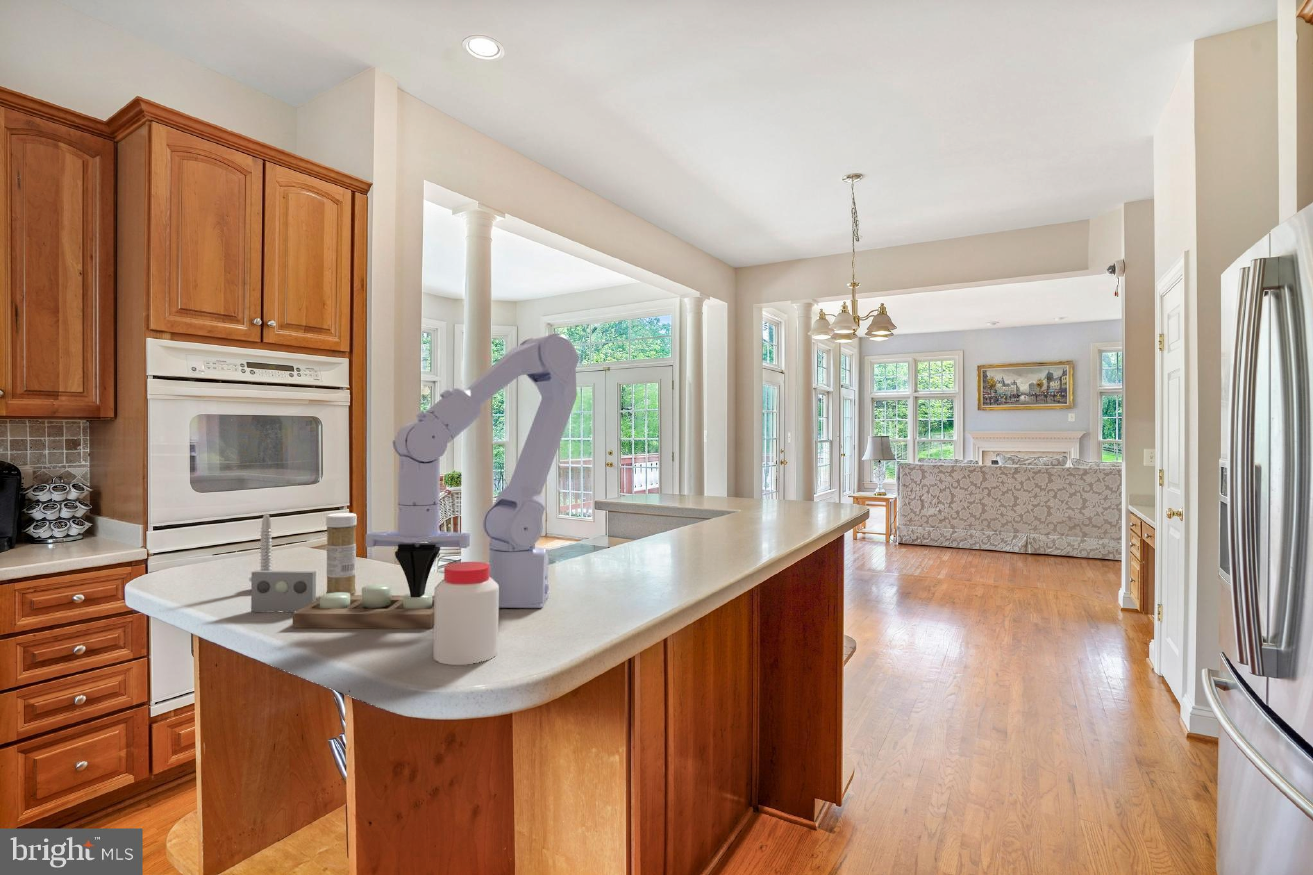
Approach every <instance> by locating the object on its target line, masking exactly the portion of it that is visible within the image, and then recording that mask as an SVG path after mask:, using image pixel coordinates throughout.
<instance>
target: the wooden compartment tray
mask: <svg viewBox="0 0 1313 875" xmlns="http://www.w3.org/2000/svg"><path fill="white" fill-rule="evenodd" d="M404 595H405V594H404ZM404 595H395V594H393V595H392V594H391V604H390V605H388V606H384V607H378V608H366V607H362V594H353V595H350V606H348V607H347V608H345V609H320V598H319V599H317V600H316V601H315V602H313V603H311V604H309V605H307V606H306V607H304V608H302V609H300V610H298V611H296V612H292V629H427V630H428V629H429V630H430V629H432V628H434V595H432V608H430V609H403V596H404Z"/></svg>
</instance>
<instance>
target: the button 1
mask: <svg viewBox="0 0 1313 875" xmlns="http://www.w3.org/2000/svg"><path fill="white" fill-rule="evenodd" d="M319 599H320V609H345V608H347V607H348V606H350V594H349V593H345V592H336V593H328V594H326V593H325V594H322V595H320V597H319Z"/></svg>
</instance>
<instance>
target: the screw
mask: <svg viewBox="0 0 1313 875" xmlns="http://www.w3.org/2000/svg"><path fill="white" fill-rule="evenodd" d="M270 517H271V516H270V514H268V513H265V514H264V515H263V516H262V520H261V527H260V529H261V530H260V535H259V537H260V541H259V544H260V546H259V547H260V549H259V551H260V552H259V554H260V555H259V557H260V559H259V560H260V562H259V564H260V566H259V568H260V569H259V571H273V570H272V569H273V566H272V565H273V563H272V561H273V560H272V558H273V556H272V555H273V553H272V551H273V549H272V548H273V546H272V545H273V542H272V541H273V538H272V537H273V535H272V534H273V532H272V530H273V529H272V527H271V526H272V525H271V523H272V522H271V518H270ZM251 580H252V575H251V577H249V578H248V581H249V582H250V583H251Z"/></svg>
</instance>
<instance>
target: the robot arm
mask: <svg viewBox="0 0 1313 875" xmlns="http://www.w3.org/2000/svg"><path fill="white" fill-rule="evenodd" d="M579 360H580V356H579V354H578V352H577V350H576V348H575V345H574V344H573V342H572V341H571V339H570V338H569V337H568V336H567V335H565V334H562V333H559V332H554V333H550V334H548V335H546V336H541V337H536V338H532V337H531V338H527V339H525V340H523V341H521V342H520V344H519V345H517V346H516V345H515V347H513V348H511V349H509V351H507V353H505V354H504V355H503V356H502V357H501V358H500V359H499V360H497V362H495V363H494V364H493V365H492V366H491V367H490V368H488V370H486V371H485V372H484V373H483V374H481V375H480V376H479V377H478V378H477V379H476V380H475V381H474V382H473V383H472V384H471V385H470V386H468V387H467V388H466V389H465V388H459V387H455V388H453V389H452V390H450V389H445V390H444V391H443V392H441V393H440V394H439V396H440V397H441V399H439V400H438V401H437V402H436V403H435V404H433V405H431V406H430V407H429V408H428V409H427V410H425V411H419V412H418V413H416V415H415V417H416V420H417V421H416V422H415V421H413V422H408V423H406V424H404V425H402V426H401V427H400V428H399V429H398V431H397V432H396V436H395V438H394V440H392V447H393V450H394V452H395V453H396V455H397V456H398V458H399V459H398V472H397V473H398V474H397V479H398V482H397V483H398V484H397V530H395V531H393V530H392V531H371V532H368V533H366V534H365V547H366V548H374V547H397V548H396V551H395V552H394V556H395V558H396V560H397V562H398V563H399V566H400V567H401V569H402V571H403V574H404V576H405V578H406V582H407V585H408V589H409V593H410V596H411V597H421V596H423V595H424V593H425V592H426V587H427V583H428V579H429V576H430V572H431V570H432V568H433V565H434V563H435V561H436V559H437V557H438V555H439V553H440V551H441V548H459V549H467V548H469V547H470V544H471V543H470V541H471V540H470V539H471V537H470V536H471V534H470V533H469V532H455V531H453V532H452V531H441V530H440V484H441V483H440V482H441V480H440V473H441V472H440V462H441V460H440V459H441V457H443V456H444V454H445V453H446V451H447V448H448V443H449V444H450V442H453V440H454V439H455V438H457V436H459V435H460V434H461V433H462V432H464V431H466V429H468V427H469V426H471V425H472V424H473V423H474V422H475V421H477V420H478V419H479V418H480V417H481V413H482V405H483V404H484V403H486V402H487V401H488V400H489V399H491V398H493V396H494V395H496V394H497V393H498V392H500V391H501V390H502V389H504V388H505V387H507V386H508V385H509V384H511V383H512V382H513V381H515V380H516V379H518V378H519V377H521V376H524V375H526V376H527V378H528V379H529V380H530V381H531V382H532V383H533V384H534V385H535V387H536V388H537V390H538V393H539V394H540V396H541V399H540V402H539V405H538V408H537V410H536V413H535V416H534V418H533V421H532V424H531V426H530V429H529V431H528V434H527V436H526V439H525V441H524V444H523V447H522V450H521V452H520V455H519V457H518V460H517V462H516V465H515V467H514V470H513V472H512V476H511V479H510V481H509V483H508V484H507V486H505V488H503V489H502V490H501V491H500V492H499V493H498V494H497V496H496V497H497V498H496V500H495V501H494V503H493V504H492V505H491V506H490V507H489V508H488V509H487V511H486V512H485V514H484V515H483V519H482V528H483V531H484V533H485V534H486V536H487V537H488V538H489V544H488V564H489V565H490V577H491V578H492V579H493V580H494V581H495V582H497V583H498V585H499V609H500V608H503V609H504V608H505V609H507V608H510V609H512V608H513V609H515V608H517V609H518V608H519V609H520V608H521V609H522V608H523V609H530V608H531V609H533V608H534V609H538V608H539V609H540V608H543V607H544V605H545V603H546V601H547V598H549V590H550V589H549V584H550V583H549V550H548V548H546V547H537V546H536V544H537V542H538V541H539V540H540V538H541V535H542V533H543V527H544V526H543V515H544V513H545V510H546V506H545V503H544V500H543V497H542V493H543V489H544V487H545V484H546V482H547V479H548V476H549V473H550V471H551V468H552V465H553V462H554V459H555V457H556V454H557V452H558V448H559V446H560V443H561V441H562V438H563V435H564V432H565V430H566V427H567V424H568V422H569V419H570V416H571V414H572V412H573V408H574V406H575V402H576V400H577V395H578V394H577V393H578V392H577V390H578V389H577V373H576V372H577V370H576V368H577V366H578V363H579Z"/></svg>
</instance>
